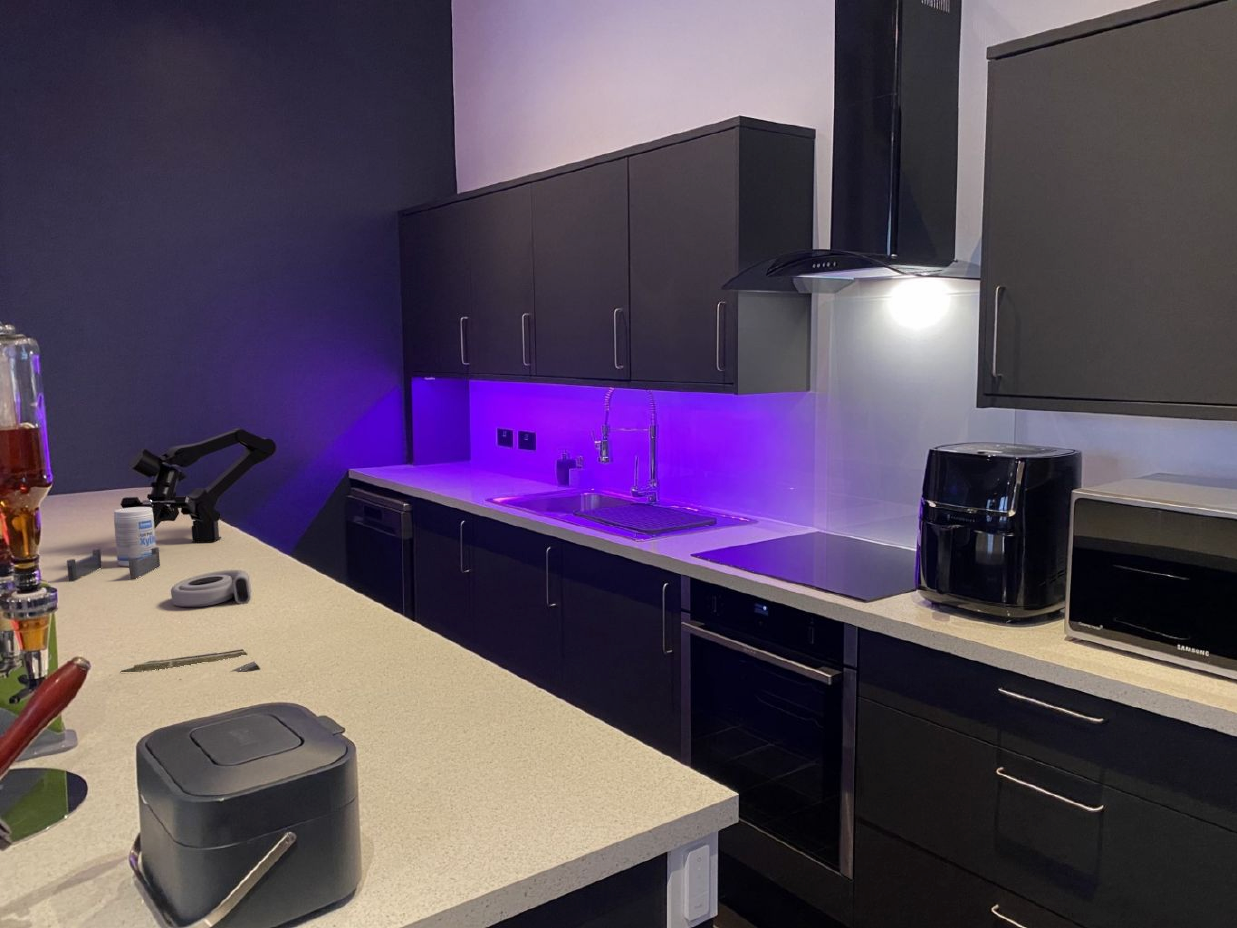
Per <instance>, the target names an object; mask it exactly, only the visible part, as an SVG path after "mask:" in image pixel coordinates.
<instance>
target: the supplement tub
mask: <svg viewBox="0 0 1237 928" xmlns="http://www.w3.org/2000/svg"><path fill="white" fill-rule="evenodd" d="M113 525H114V534H115V535H114V536H115V548H116V549H115V550H116V559H117V564H118V565H119V566H120V567H129V559H130V558H137V560H139V559H141V558H143V557H145V556H147V555H149V554H151V553H152V552H151V549H152V548H157V546H156V545H157V544H156V533H155V530H156V529H154V517H153V511H152V508H151V507H131V508H120V509H115V510H114V511H113Z"/></svg>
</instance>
